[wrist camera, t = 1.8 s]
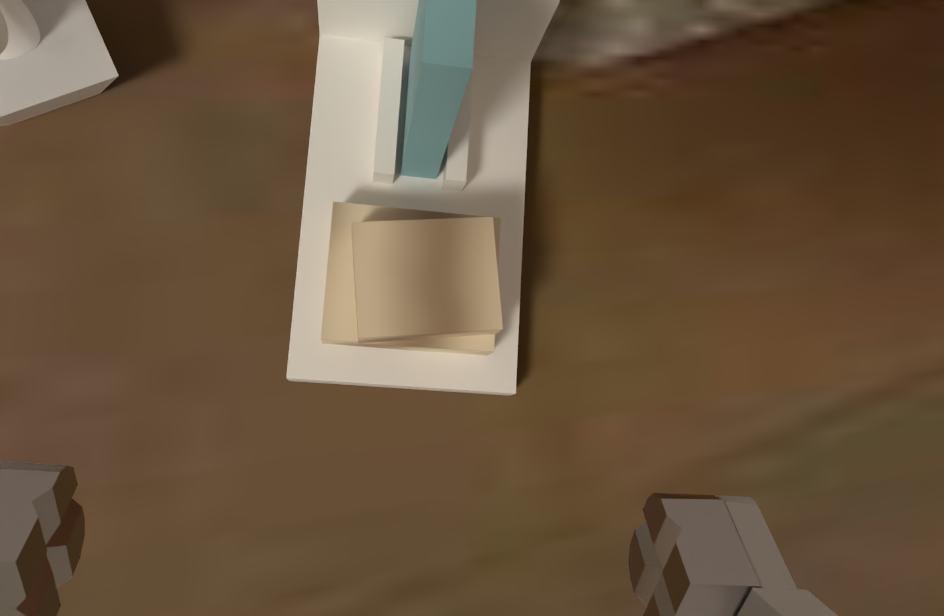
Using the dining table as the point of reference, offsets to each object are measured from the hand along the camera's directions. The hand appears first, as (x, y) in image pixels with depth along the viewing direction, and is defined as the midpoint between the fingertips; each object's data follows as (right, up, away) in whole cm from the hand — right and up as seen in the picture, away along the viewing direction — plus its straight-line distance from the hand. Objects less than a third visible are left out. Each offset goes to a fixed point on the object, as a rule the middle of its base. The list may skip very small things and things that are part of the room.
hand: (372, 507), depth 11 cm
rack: (-2, +8, +29) cm, 31 cm away
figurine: (-20, +15, +28) cm, 37 cm away
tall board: (-1, +12, +29) cm, 31 cm away
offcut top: (-1, +4, +25) cm, 26 cm away
